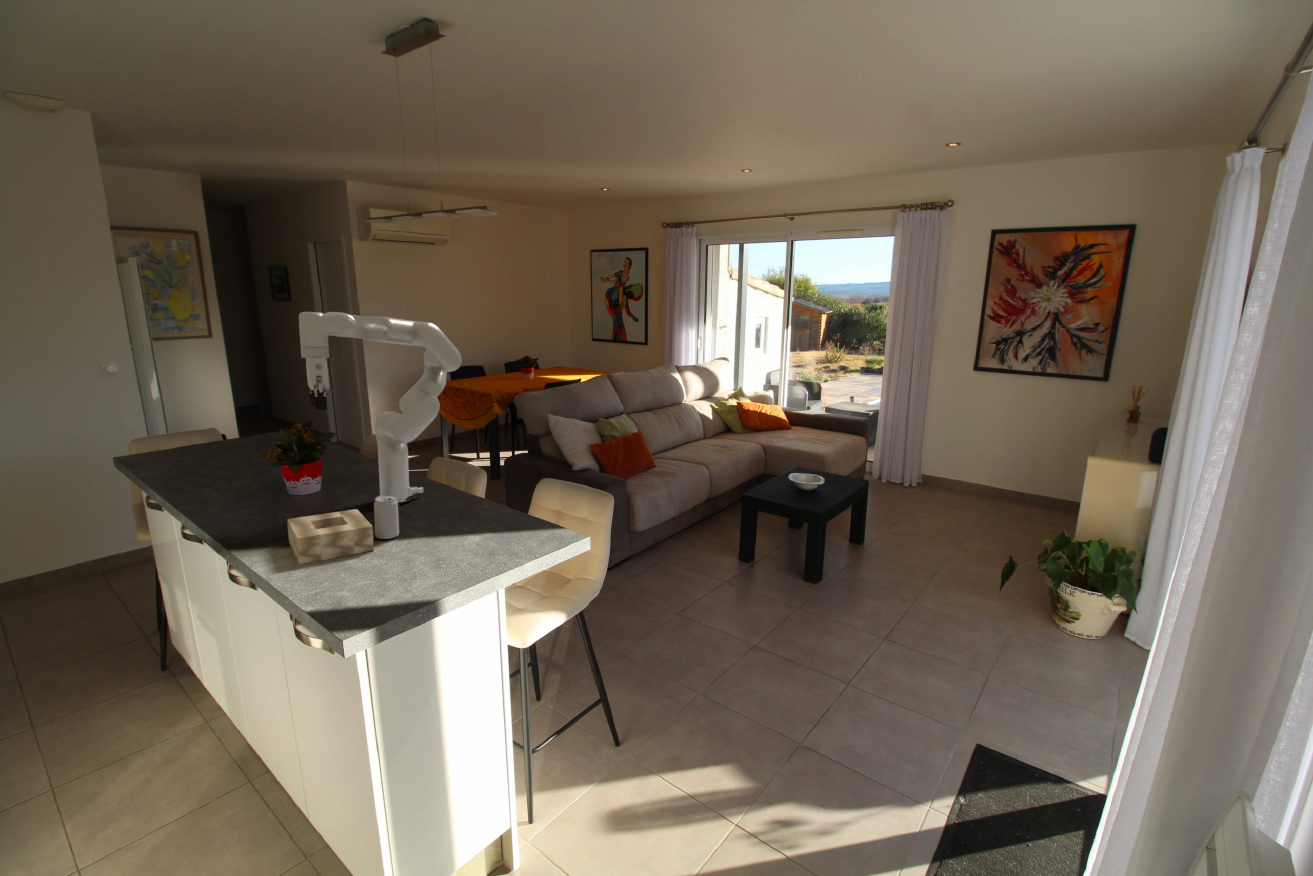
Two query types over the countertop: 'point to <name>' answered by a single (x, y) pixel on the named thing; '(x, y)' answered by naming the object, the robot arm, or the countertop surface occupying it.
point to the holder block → (329, 535)
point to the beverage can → (386, 517)
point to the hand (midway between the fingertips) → (318, 407)
